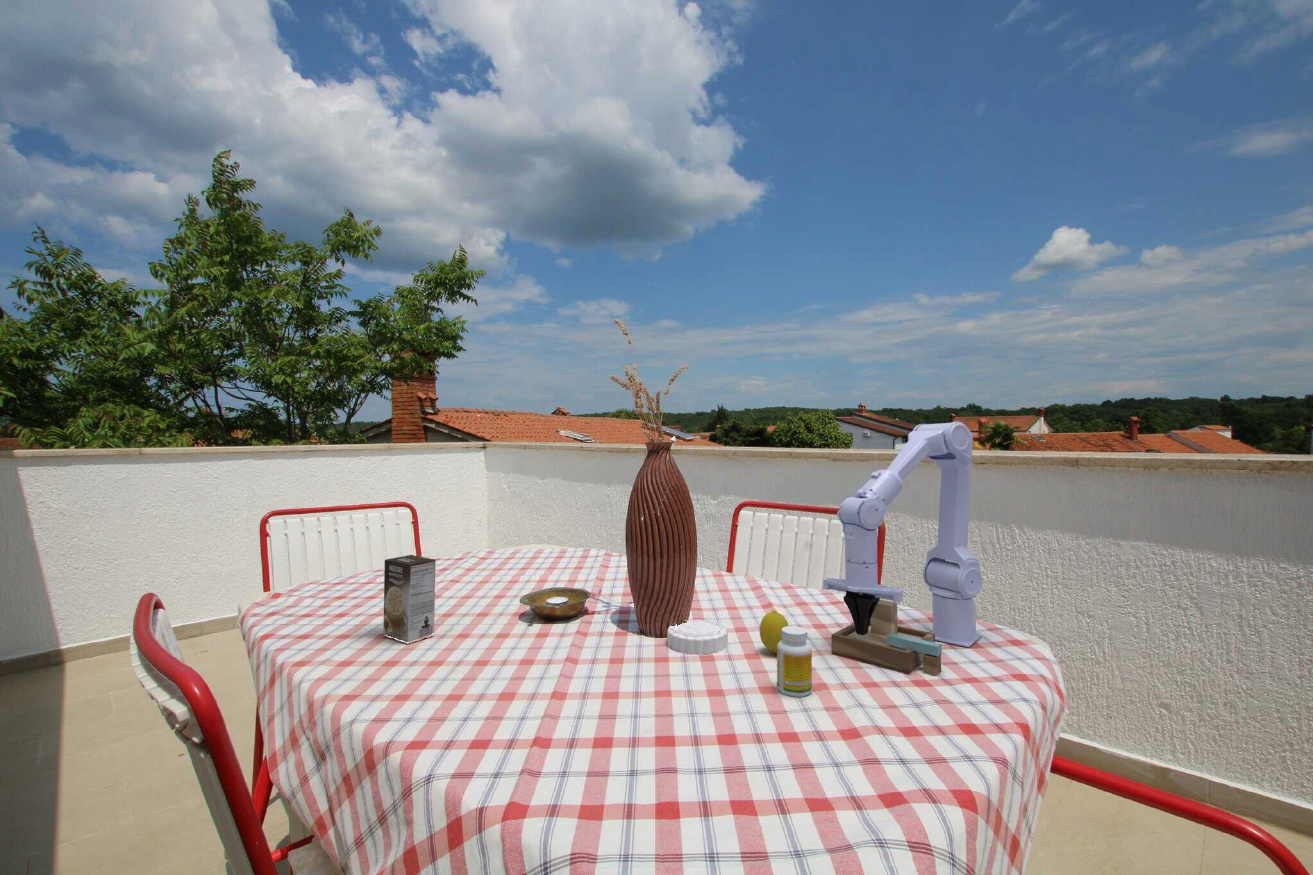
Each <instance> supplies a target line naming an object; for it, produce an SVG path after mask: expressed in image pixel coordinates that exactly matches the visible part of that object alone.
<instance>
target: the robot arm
mask: <svg viewBox="0 0 1313 875" xmlns="http://www.w3.org/2000/svg"><path fill="white" fill-rule="evenodd" d="M973 439H974V435H973V433H972V432H971V430H970V429H969V428H968V426H967V425H966V424H964V423H963V422H961V421H953V422H945V423H941V422H939V423H929V424H928V423H920V424H917V425H916V426H915V427H914V428H913V429H912V431H911V432H909V434H907V442H906V444H905V445H904V446H903V447H902V449H901V450H900V451H899V452H898V454H897V455H896V457H894V459H893V461H892V462H891V463H890V464H889V466H888V467H887V468H886V469H879V470H877V471H873V472H872V473H871V474H870V478H869V480H867V482H865V484H864V485H863V486H861V488H859V489H858V490H857V491H856V494H855V495H854V496H851V497H847V498H846V499H844V500H843V501H842V502H841V504H840V506H839V510H838V511H837V514H836V515H837V517H838V520H839V522H840V523H841V526H842V533H843V534H844V565H845V566H844V567H845V570H844V571H845V572H844V573H845V578H844V579H843V578H842V579H841V578H833V577H832V578H831V577H826V578H823V581H822V582H823V587H822V588H823V590H827V591H830V590H832V591H836V592H837V591H838V592H843V593H845V595H844V596H843V601H844V603H845V605H846V606H847V609H848V611H849V613H850V615H851V618H852V621H853V623H854V625H855V629H856V634H859V635H865V634H867V633H868V628H869V624H870V620H871V617H872V614H873V612H874V609H875V607H876V605H877V604H878V602H879V600H886V601H892V602H896V603H897V604H898V603H901V602H903V601H904V591H903V589H901V588H900V589H899V588H895V587H894V588H893V587H891V586H886V585H883V584H880V583H879V584H878V579H879V578H878V532H877V531H878V528H879V527H880V526H882V524H883V523H884V520H885V515H886V514H885V513H886V512H887V511H888V507H889V506H890V504H891V503H892V502H893V501H894V500H895V499H896V497H897V496H898V495H899V494H900V493H901V492H902V490H903V487H904V486H903V480H904V479H905V478H906V477H907V476H908V475H909V474H910V473H911V472H913V470H914V469H916V467H918V465H919V464H921V463H922V462H923V461H924V460H925V459H928V460H930V462H932V463H935V464H936V466H937V467H938V468H939V469H940V472H941V473H940V490H939V506H938V508H939V510H938V511H939V512H938V525H937V526H938V527H937V544H936V545H935V546H934V547H932V548H931V549H929V550H928V551H927V553H926V561H925V563H924V565H923V568H922V578H923V581H924V583H925V584H926V586H928V588H929V589H928V591H929V592H931V594H932V595H931V596H932V597H931V598H932V600H931V601H932V631H931V632H929V633H934V634H935V641H938V642H943V643H947V644H953V645H957V646H960V647H961V646H962V647H966V648H970V647H972V645H973V644H975V643H976V642H977V641H978V640H980V638H981V637H982V633H979V632H977V614H976V611H977V610H976V608H977V607H976V603H975V600H974V598H977V597H976V596H977V595H978V594H979V593H980V591H981V590H982V586H983V578H982V577H983V576H982V574H981V570H980V564H981V563H980V559H979V558H978V557H977V556H976V555H975V554H974V553H973V552H972V551H971V550H969V548H968V540H969V537H968V536H969V520H970V517H969V516H970V504H971V503H970V501H971V480H972V479H971V478H972V459H973V458H972V457H973V442H974V440H973Z"/></svg>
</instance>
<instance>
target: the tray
mask: <svg viewBox="0 0 1313 875" xmlns="http://www.w3.org/2000/svg"><path fill="white" fill-rule="evenodd" d="M869 626H871V620H870V624H869ZM854 631H856V629H855V625H854V622H853V623H851V624H849V625H847V626H845V627H844V628H841V629H840V630H838V631H835V632H833V633H832V634H830V635H831V636H830V637H831V640H830V642H831V655H835V656H838V657H842V658H844V659H845V658H846V659H848V660H849V659H850V660H854V661H856V662H860V663H864V664H868V665H872V666H876V667H880V668H883V669H887V670H891V671H895V672H897V673H898V672H899V673H902V674H906V675H910V674H912V673H913V672H915V670H916V669H918V668H919V667H920V666H921V665H922V670H923V671H922V673H923V674H927V675H930V676H934V677H936V676H938V675H939V673H941V672H942V653H941V654H940V655H939V656H934V655H930V654H925V653H921V652H917V651H914V649H910V648H907V649H906V650H901V649H897V648H893V647H889V646H885V645H880V644H876V643H872V642H868V641H864V640H860V639H855V638H851V637H847V635H849V634H851V633H853V632H854ZM898 632H900V633H905V634H909V635H914V636H918V637H923V638H921V640H926V641H930V642H935V643H936V640H935V634H934V633H930V632H928V631H924V630H918V629H915V628H910V627H906V626H900V625H898Z"/></svg>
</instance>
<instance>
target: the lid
mask: <svg viewBox="0 0 1313 875" xmlns="http://www.w3.org/2000/svg"><path fill="white" fill-rule="evenodd" d="M898 626H899V625H898V602H894V601H891V600H886V599H880V600H879V602H878V604H877V605H876V607H875V609H874V612H873V614H872V617H871V626H869V628H868V633H867V634H865V635H859V634H856V631H854V632H853V633H851V634H849V635H847V637H851V638H855V639H860V640H864V641H868V642H872V643H876V644H880V645H885V646H889V647H893V648H897V649H901V650H906V649H904V648H900V647H896V646H891V645H887V635H889V634H890V633H894V634H898V635H903V636H907V637H912V638H916V639H921V638H923V637H918V636H914V635H909V634H905V633H900V632H898Z"/></svg>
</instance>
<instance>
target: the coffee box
mask: <svg viewBox="0 0 1313 875" xmlns="http://www.w3.org/2000/svg"><path fill="white" fill-rule="evenodd" d="M436 562H437V561H436V559H435V558H434V559H433V558H430V557H429V558H428V557H424V556H421V555H420V556H418V555H416V554H415V555H414V554H409V555H408V554H407V555H404V556H403V555H402V556H398V557H392V558H387V559H386V558H385V559H384V573H383V574H384V575H383V576H384V578H383V579H384V580H383V582H384V584H383V585H384V586H383V623H382V624H383V634H384V635H388V636H391V637H393V638H397V639H399V640H403V641H405V642H411V641H413V640H416V639H419V638H422V637H424V636H427V635H431V634H432V633H434V634H435V614H436V613H435V612H436V608H435V607H436V606H435V604H436V602H435V601H436V597H435V596H436Z"/></svg>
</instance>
